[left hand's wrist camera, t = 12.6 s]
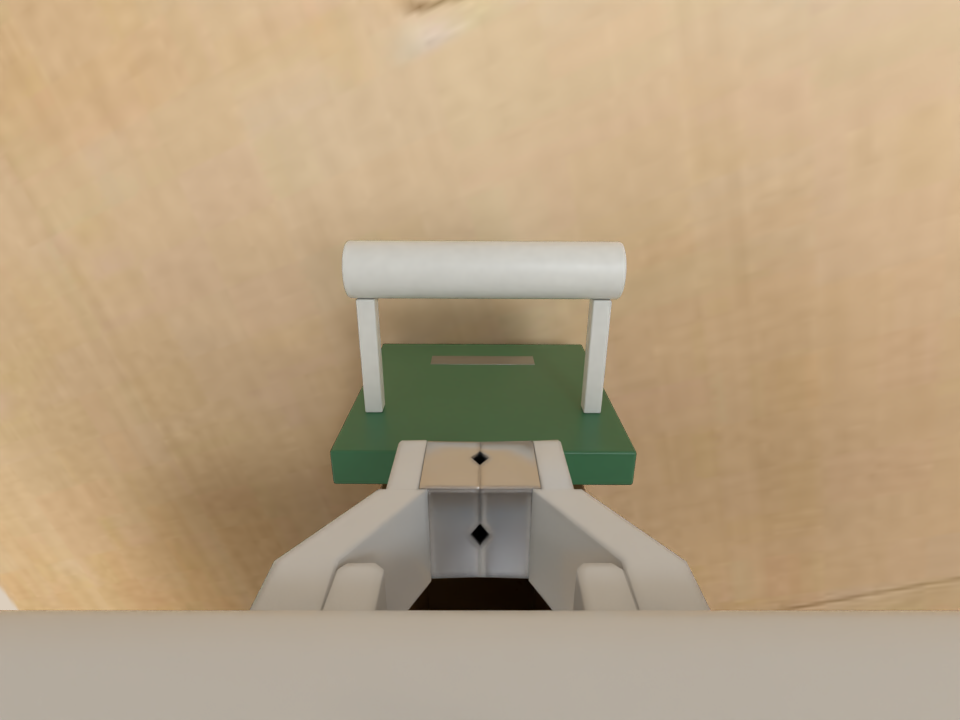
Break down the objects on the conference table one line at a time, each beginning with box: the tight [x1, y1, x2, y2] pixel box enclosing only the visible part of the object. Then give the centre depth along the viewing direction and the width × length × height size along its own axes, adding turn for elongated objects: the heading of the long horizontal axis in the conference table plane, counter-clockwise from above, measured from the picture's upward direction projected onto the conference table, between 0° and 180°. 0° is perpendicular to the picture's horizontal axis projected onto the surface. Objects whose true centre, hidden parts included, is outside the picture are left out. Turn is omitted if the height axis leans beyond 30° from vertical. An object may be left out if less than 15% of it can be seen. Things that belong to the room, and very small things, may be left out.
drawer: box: [330, 241, 637, 610], centre depth 23 cm, size 25×9×10 cm, turn 0°
